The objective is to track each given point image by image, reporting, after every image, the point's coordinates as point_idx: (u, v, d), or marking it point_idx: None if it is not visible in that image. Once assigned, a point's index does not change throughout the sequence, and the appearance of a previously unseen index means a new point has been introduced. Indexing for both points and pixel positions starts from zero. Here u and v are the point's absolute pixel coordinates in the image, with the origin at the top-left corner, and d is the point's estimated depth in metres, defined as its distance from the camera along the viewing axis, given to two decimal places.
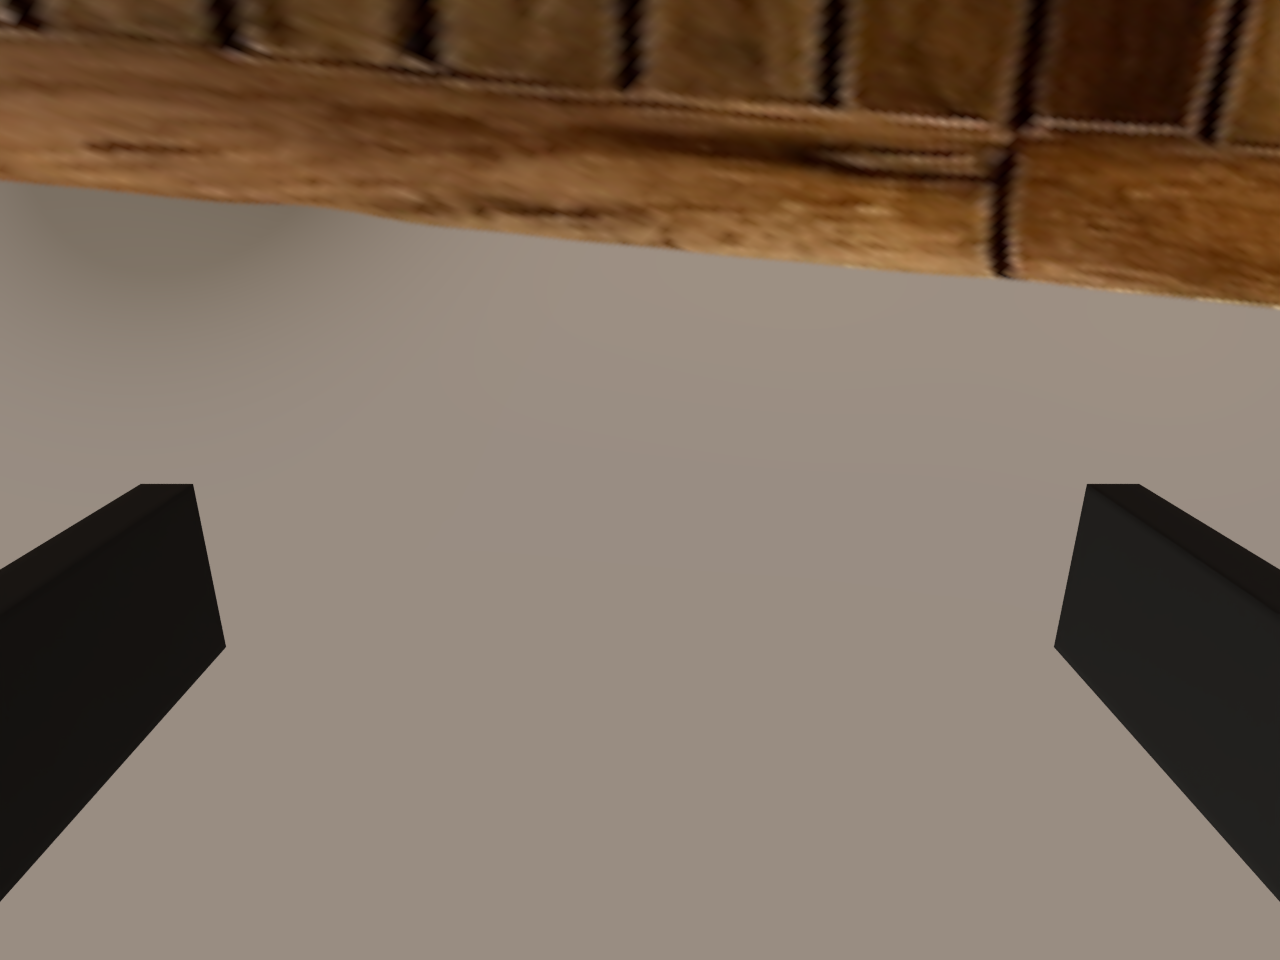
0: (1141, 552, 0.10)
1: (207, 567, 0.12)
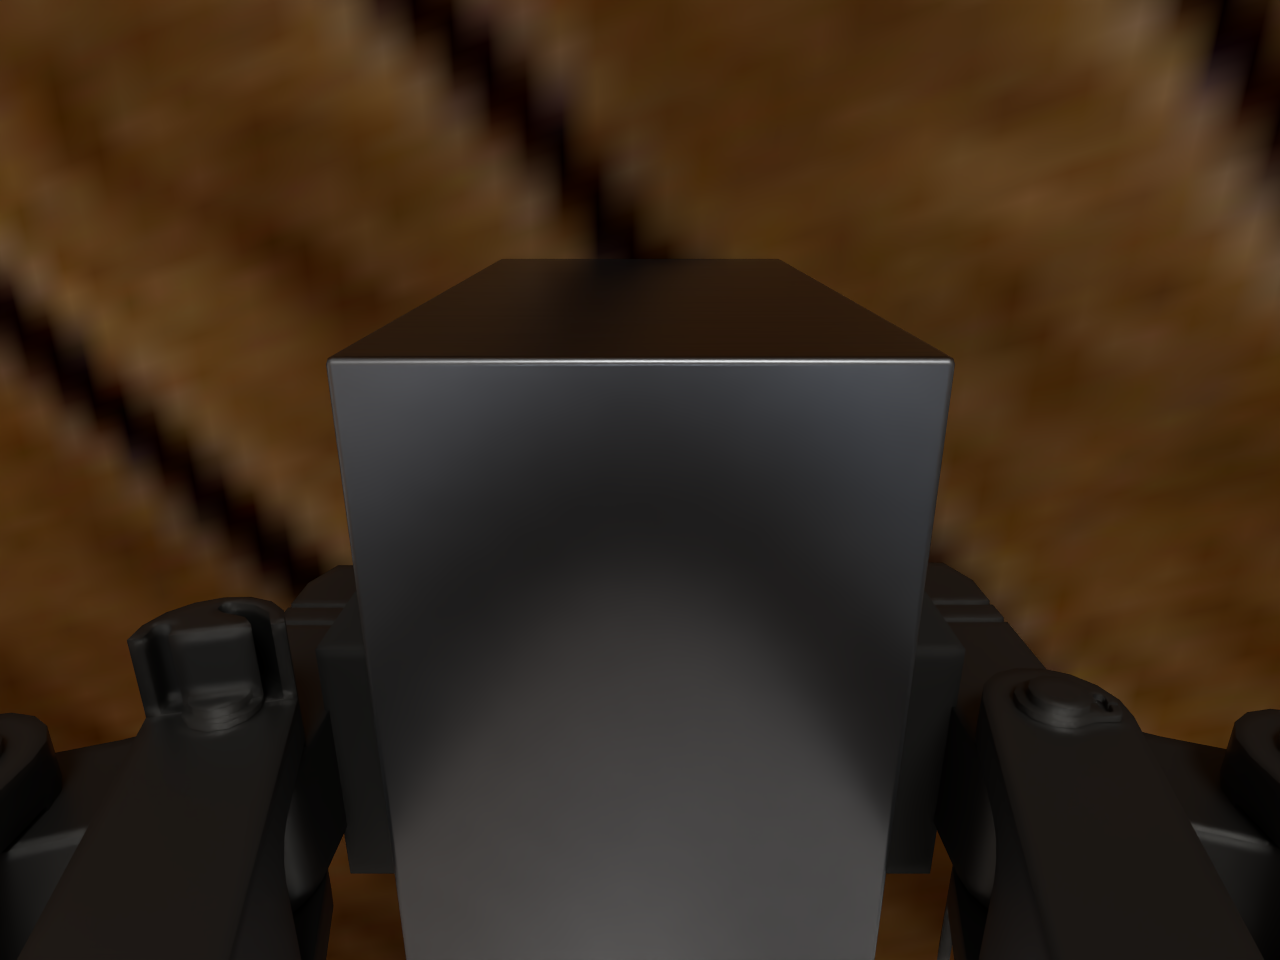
0: None
1: None
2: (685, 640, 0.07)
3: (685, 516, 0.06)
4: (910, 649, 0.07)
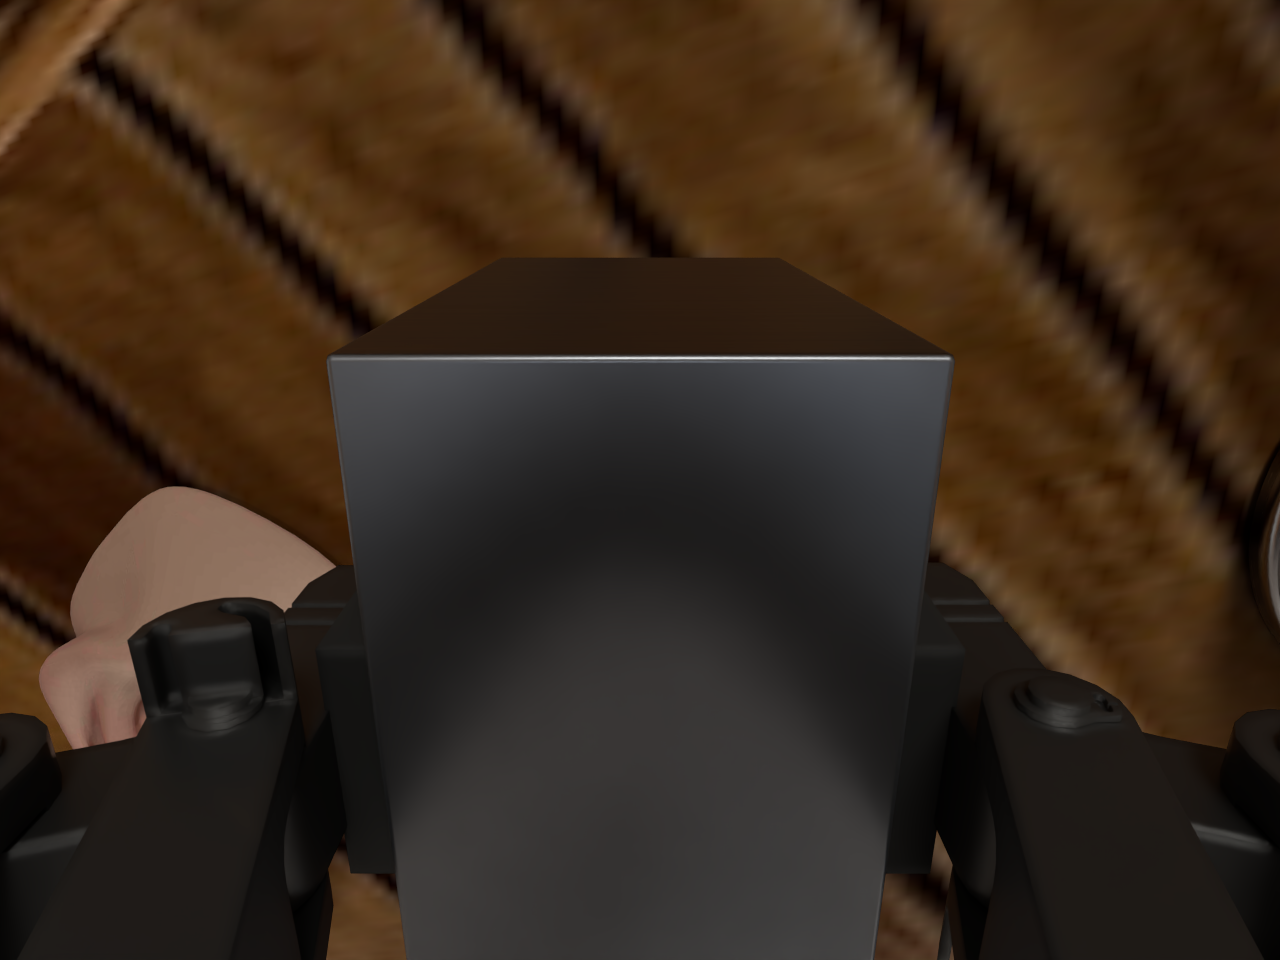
0: None
1: None
2: (685, 637, 0.07)
3: (685, 513, 0.06)
4: (910, 646, 0.07)
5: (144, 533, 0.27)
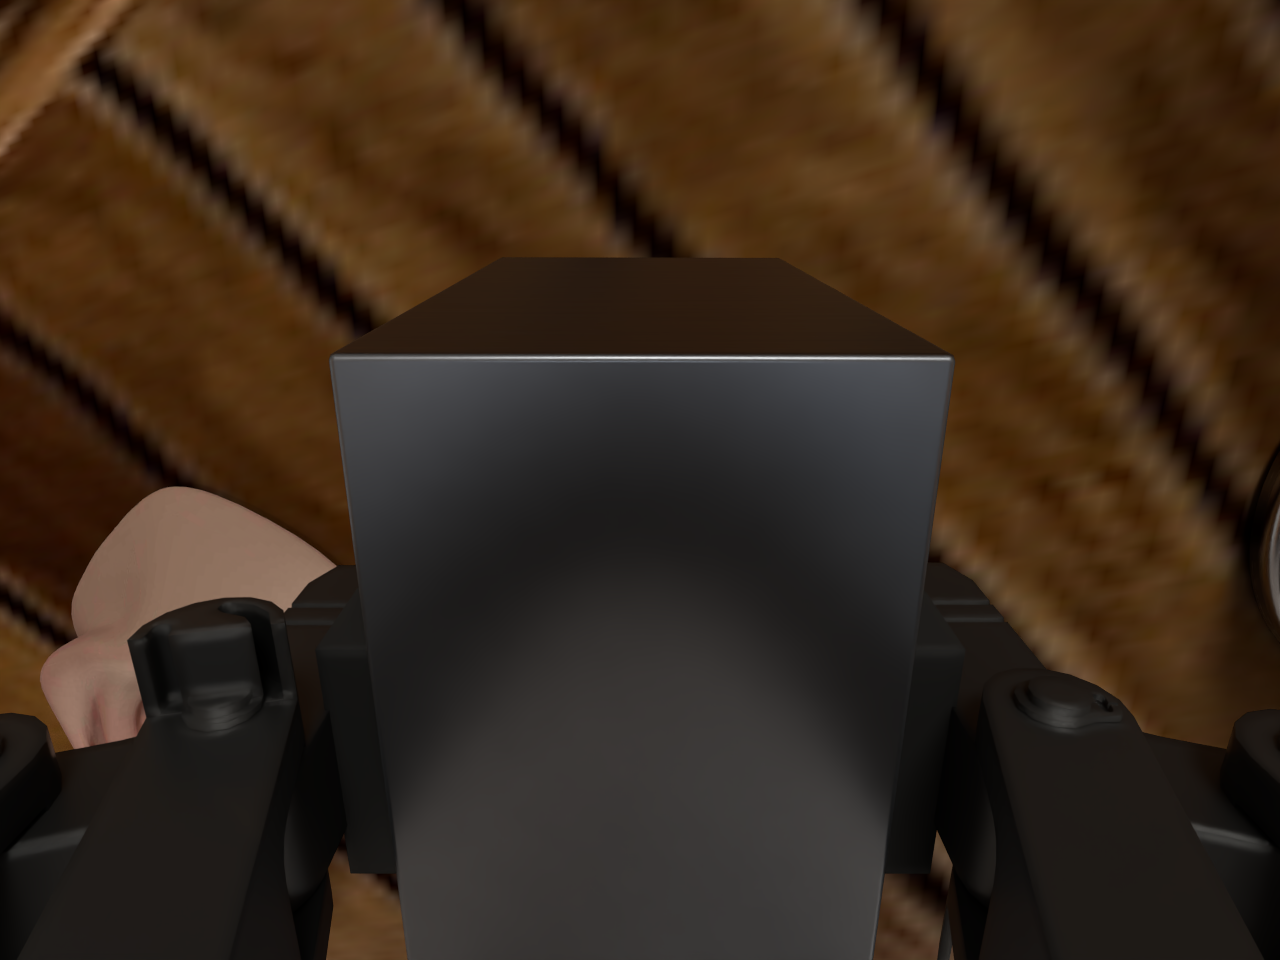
0: None
1: None
2: (687, 637, 0.07)
3: (686, 512, 0.06)
4: (910, 645, 0.07)
5: (145, 533, 0.27)
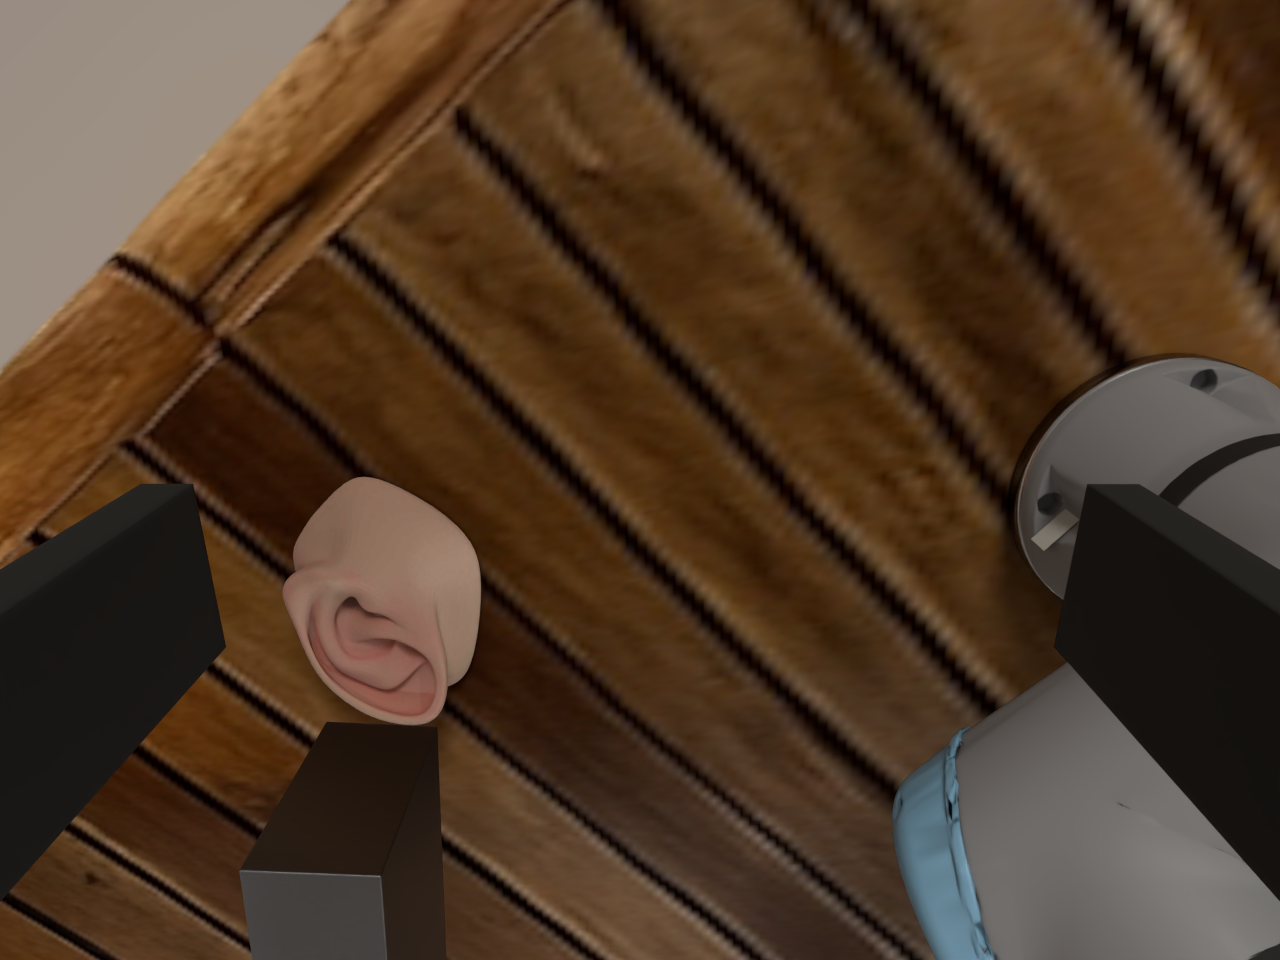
0: (1140, 552, 0.10)
1: (207, 567, 0.12)
2: (326, 928, 0.27)
3: (323, 903, 0.27)
4: (382, 932, 0.27)
5: (346, 504, 0.45)
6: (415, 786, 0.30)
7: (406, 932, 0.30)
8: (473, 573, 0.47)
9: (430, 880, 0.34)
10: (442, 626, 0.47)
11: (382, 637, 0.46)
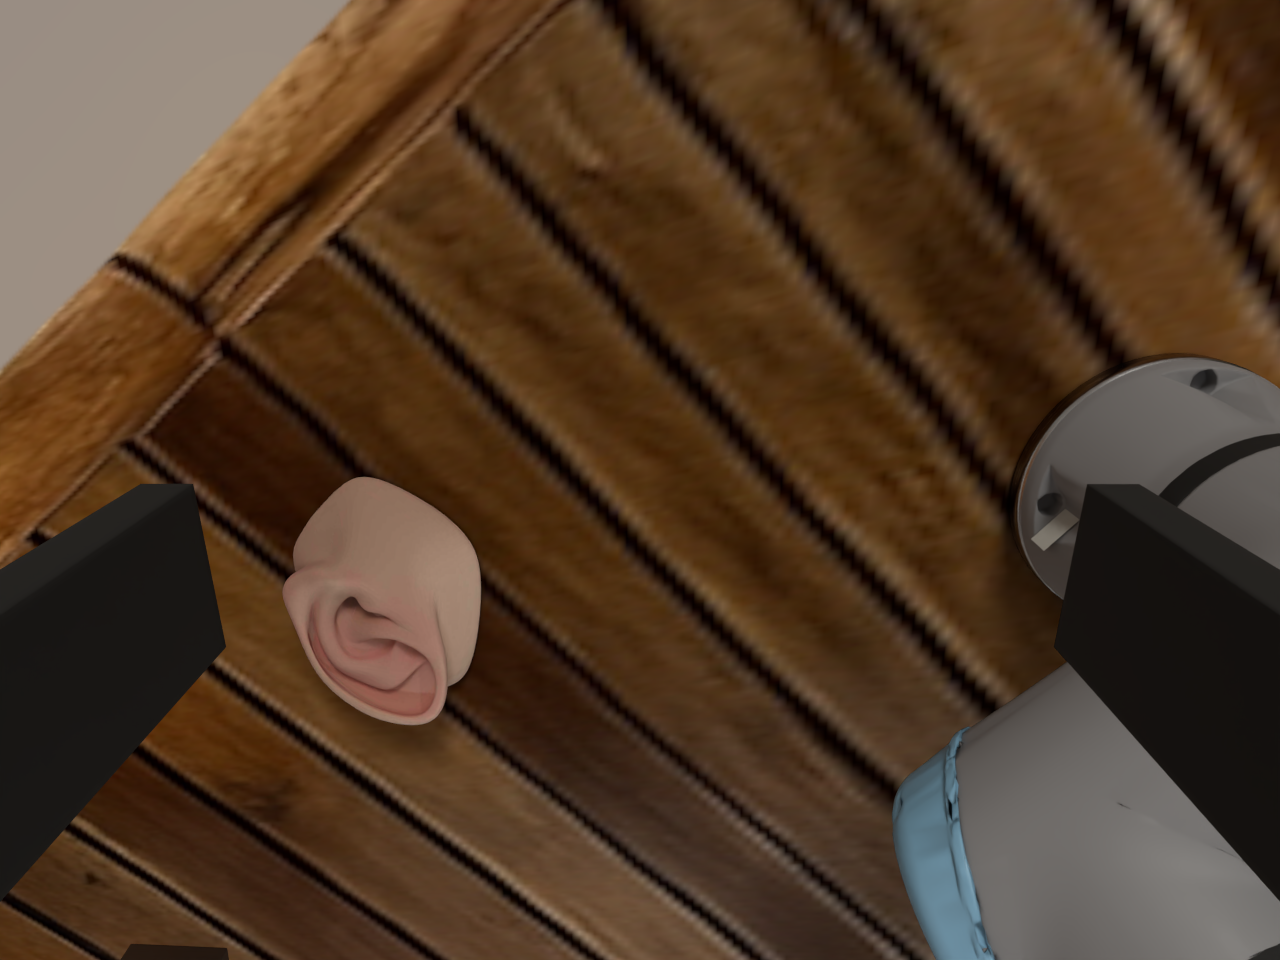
0: (1140, 552, 0.10)
1: (207, 567, 0.12)
2: None
3: None
4: None
5: (346, 504, 0.45)
6: None
7: None
8: (473, 573, 0.47)
9: None
10: (442, 626, 0.47)
11: (382, 637, 0.46)
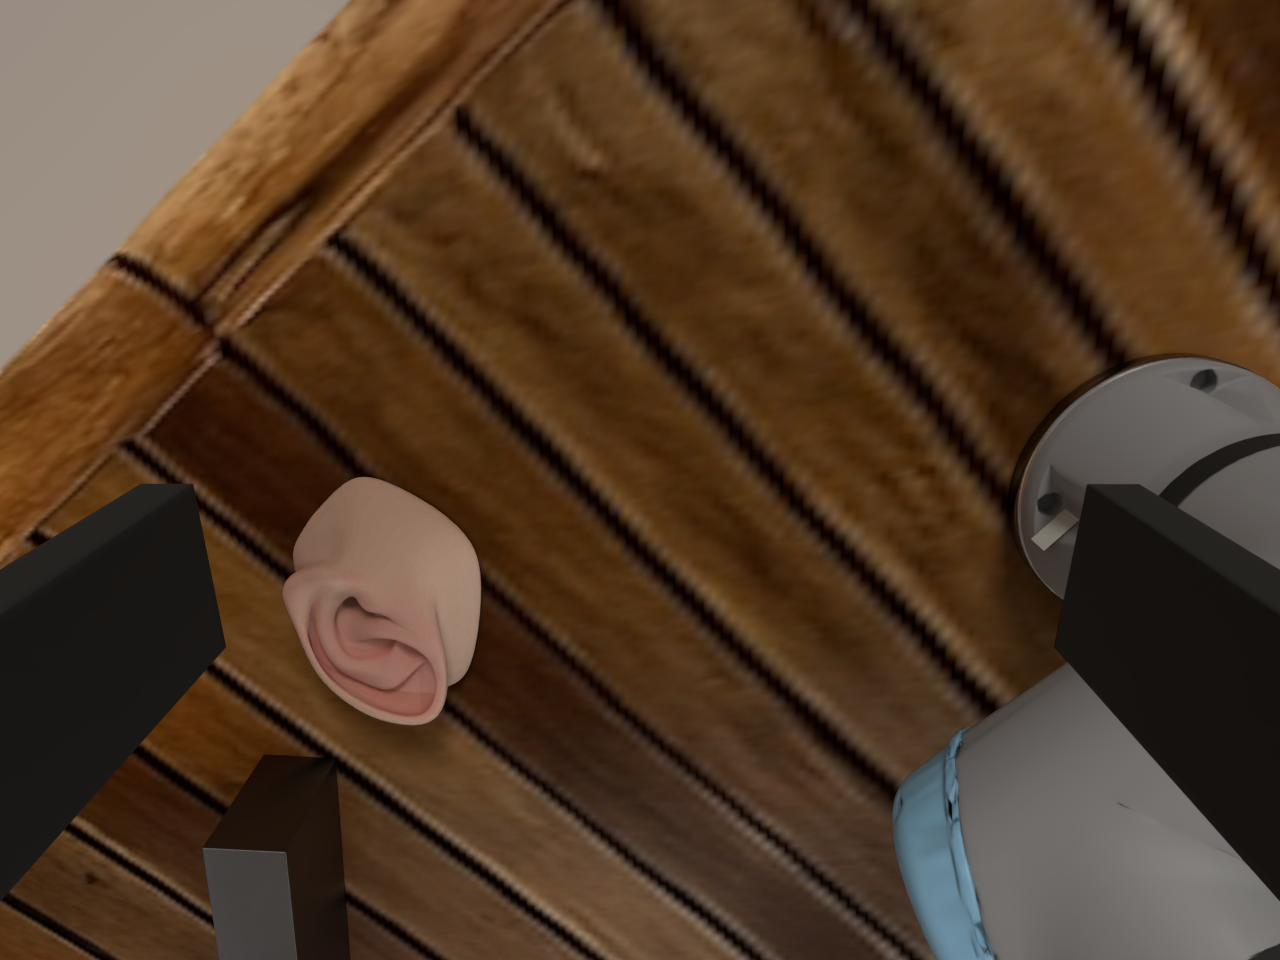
0: (1140, 552, 0.10)
1: (207, 567, 0.12)
2: (254, 883, 0.46)
3: (252, 868, 0.45)
4: (288, 886, 0.46)
5: (346, 504, 0.45)
6: (315, 798, 0.49)
7: (307, 888, 0.49)
8: (473, 573, 0.47)
9: (329, 857, 0.52)
10: (442, 626, 0.47)
11: (382, 637, 0.46)
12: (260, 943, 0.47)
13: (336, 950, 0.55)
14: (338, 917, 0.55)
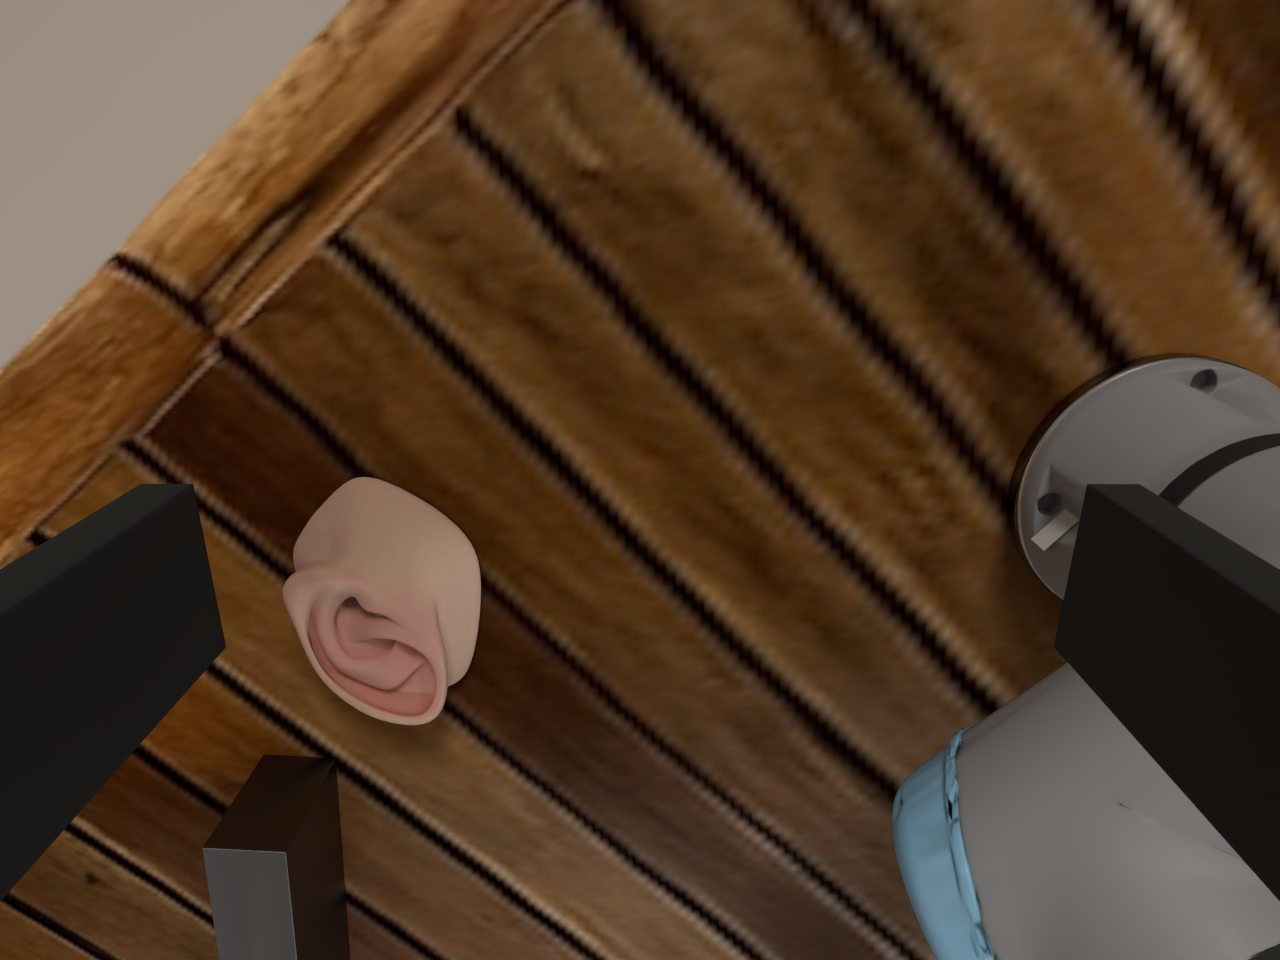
0: (1140, 552, 0.10)
1: (207, 567, 0.12)
2: (254, 883, 0.46)
3: (252, 868, 0.45)
4: (288, 886, 0.46)
5: (346, 504, 0.45)
6: (315, 798, 0.49)
7: (307, 888, 0.49)
8: (473, 573, 0.47)
9: (329, 857, 0.52)
10: (442, 626, 0.47)
11: (382, 637, 0.46)
12: (260, 943, 0.47)
13: (336, 950, 0.55)
14: (338, 917, 0.55)
